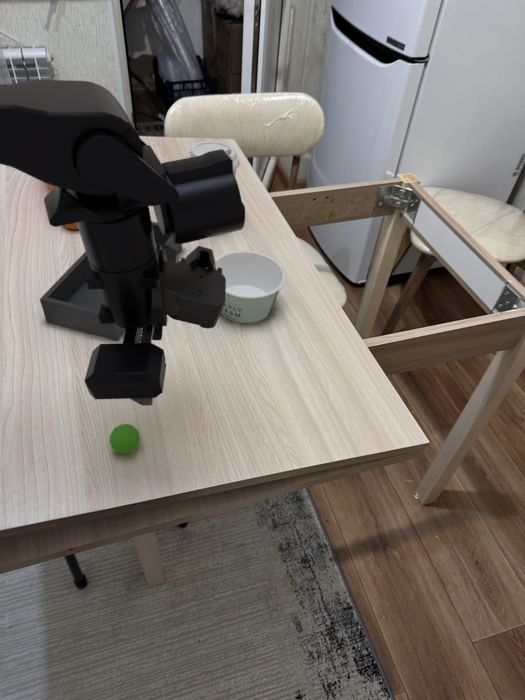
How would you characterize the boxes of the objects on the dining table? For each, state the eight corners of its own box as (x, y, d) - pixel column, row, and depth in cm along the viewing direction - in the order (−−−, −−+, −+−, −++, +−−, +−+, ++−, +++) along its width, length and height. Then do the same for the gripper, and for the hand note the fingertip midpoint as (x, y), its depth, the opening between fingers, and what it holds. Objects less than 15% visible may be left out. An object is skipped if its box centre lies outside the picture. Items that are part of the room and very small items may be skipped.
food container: (194, 313, 77) (194, 280, 73) (228, 274, 85) (230, 242, 81) (262, 339, 75) (266, 307, 70) (291, 296, 83) (296, 265, 78)
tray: (46, 322, 73) (39, 299, 70) (123, 235, 91) (120, 214, 87) (117, 341, 72) (114, 318, 68) (182, 249, 89) (181, 228, 86)
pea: (106, 454, 58) (102, 438, 56) (119, 431, 61) (116, 414, 58) (133, 462, 58) (130, 446, 55) (145, 439, 60) (143, 422, 58)
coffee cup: (198, 242, 91) (199, 165, 81) (179, 216, 97) (177, 141, 86) (243, 232, 95) (249, 158, 85) (223, 209, 101) (226, 136, 90)
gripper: (214, 328, 35) (225, 442, 47) (220, 193, 48) (227, 309, 59) (58, 331, 35) (108, 445, 46) (106, 195, 47) (136, 311, 59)
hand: (152, 369), depth 53 cm, fingers open, 9 cm apart
